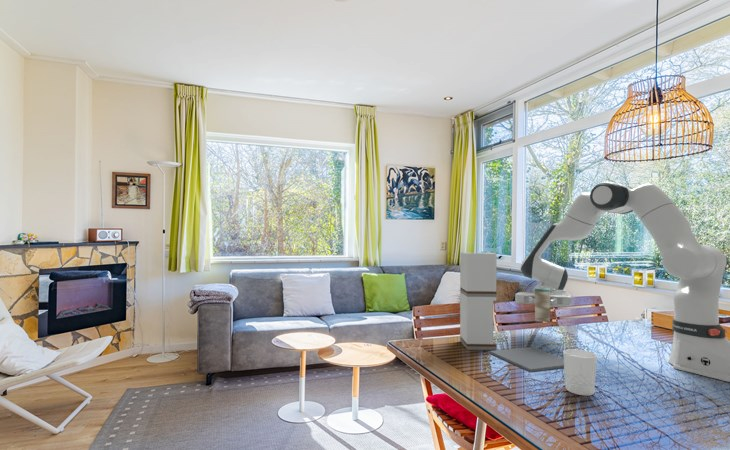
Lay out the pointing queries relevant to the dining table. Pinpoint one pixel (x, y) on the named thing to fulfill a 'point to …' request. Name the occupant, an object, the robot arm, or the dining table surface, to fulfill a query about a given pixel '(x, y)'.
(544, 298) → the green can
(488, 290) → the grey square tower
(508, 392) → the dining table surface
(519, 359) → the rubber mat
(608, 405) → the dining table surface
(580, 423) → the dining table surface
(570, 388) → the white cup
